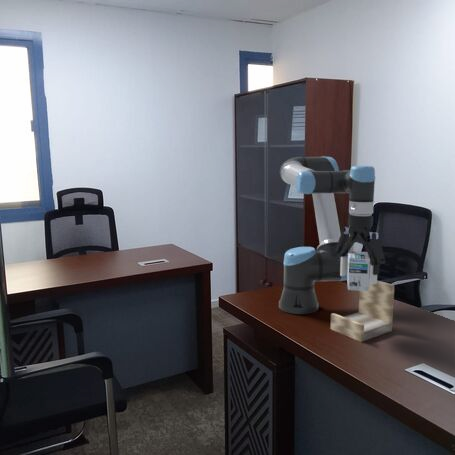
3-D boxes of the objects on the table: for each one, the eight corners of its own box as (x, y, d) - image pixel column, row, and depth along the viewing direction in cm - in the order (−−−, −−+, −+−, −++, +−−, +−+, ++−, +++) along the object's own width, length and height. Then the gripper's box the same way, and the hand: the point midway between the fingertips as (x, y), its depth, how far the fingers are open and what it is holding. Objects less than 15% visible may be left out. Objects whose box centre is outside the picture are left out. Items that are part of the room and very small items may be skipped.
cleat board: (330, 329, 157) (332, 283, 154) (361, 319, 165) (362, 276, 163) (360, 342, 146) (363, 293, 143) (391, 330, 155) (394, 285, 152)
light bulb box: (369, 291, 146) (370, 258, 144) (347, 290, 147) (348, 257, 145) (366, 282, 156) (368, 251, 154) (346, 281, 158) (347, 250, 156)
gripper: (325, 211, 155) (323, 273, 159) (384, 220, 136) (380, 290, 139) (340, 209, 159) (338, 269, 163) (400, 217, 140) (396, 286, 143)
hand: (357, 279), depth 151 cm, fingers closed on light bulb box, 12 cm apart
